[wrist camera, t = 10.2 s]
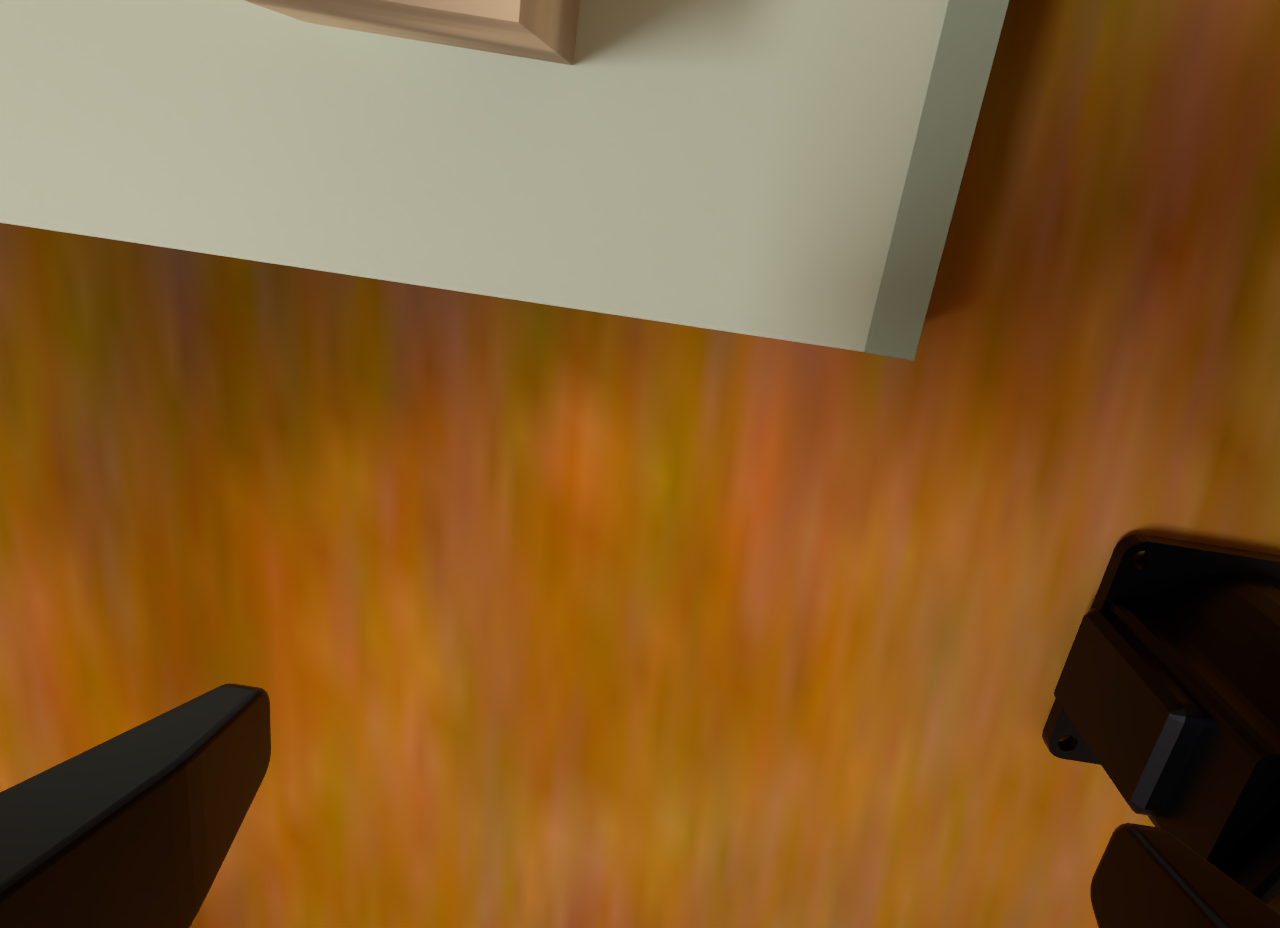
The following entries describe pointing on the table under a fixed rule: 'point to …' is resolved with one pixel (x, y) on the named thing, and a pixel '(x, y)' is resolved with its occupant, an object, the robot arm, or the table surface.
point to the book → (523, 152)
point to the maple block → (453, 22)
